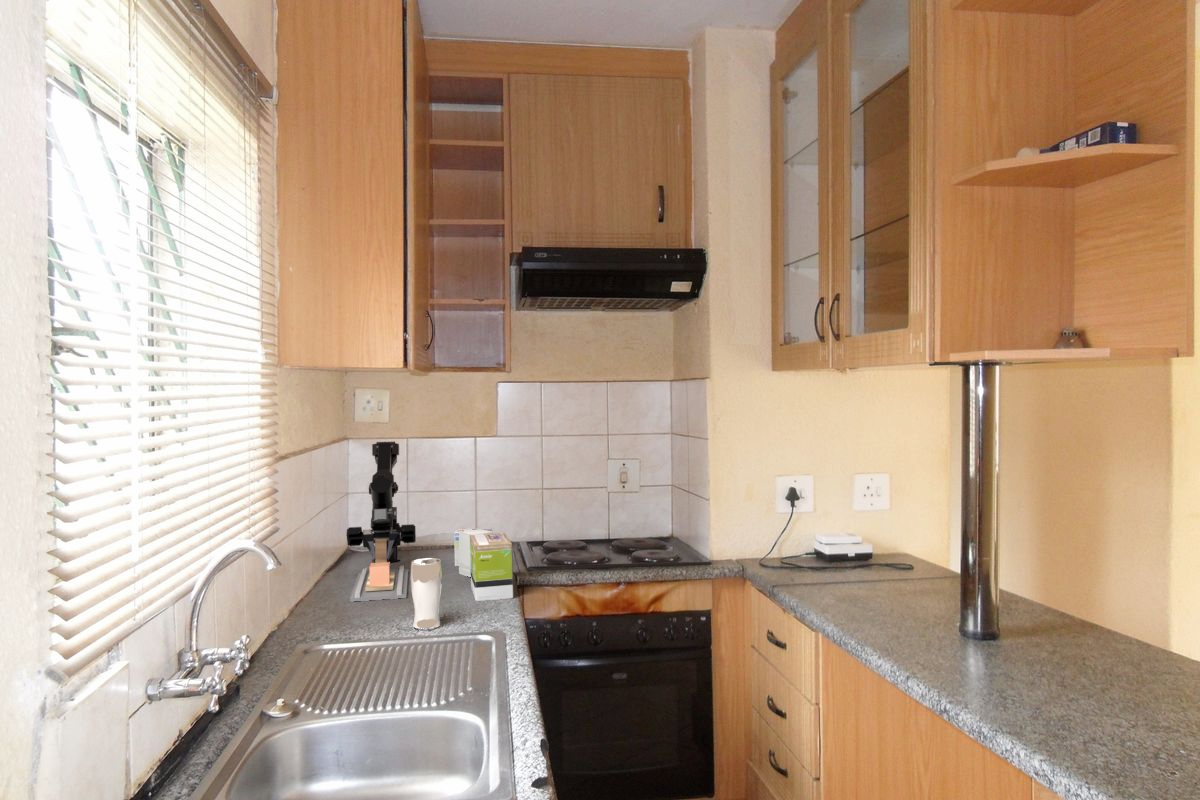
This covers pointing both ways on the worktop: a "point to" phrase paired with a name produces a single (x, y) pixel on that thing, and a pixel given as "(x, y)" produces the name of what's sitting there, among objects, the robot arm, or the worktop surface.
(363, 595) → the guide board
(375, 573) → the terracotta cube
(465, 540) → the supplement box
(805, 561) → the worktop surface
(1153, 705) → the worktop surface
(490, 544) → the tea box
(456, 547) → the light bulb box
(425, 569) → the beer glass
